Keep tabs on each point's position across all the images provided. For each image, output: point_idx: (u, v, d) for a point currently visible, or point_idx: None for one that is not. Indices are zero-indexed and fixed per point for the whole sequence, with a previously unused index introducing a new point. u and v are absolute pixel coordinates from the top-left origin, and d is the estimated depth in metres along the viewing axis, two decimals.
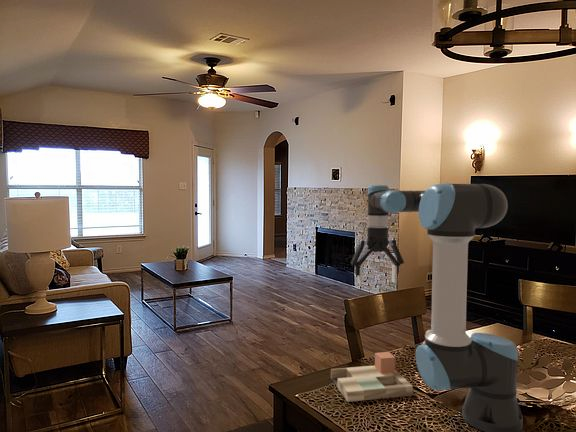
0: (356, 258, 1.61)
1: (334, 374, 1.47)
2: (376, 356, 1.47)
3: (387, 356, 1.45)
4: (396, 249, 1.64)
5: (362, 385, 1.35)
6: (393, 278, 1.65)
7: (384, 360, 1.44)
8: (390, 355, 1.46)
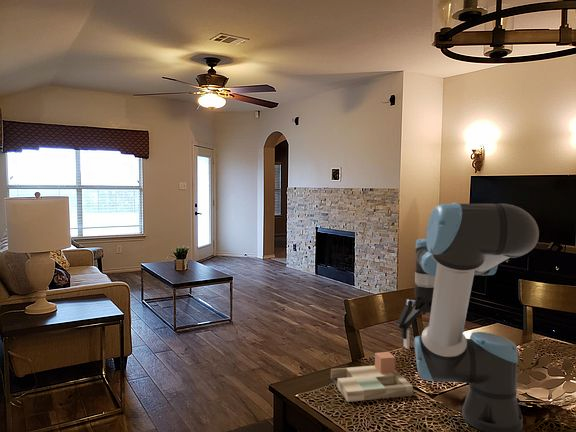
0: (403, 320, 1.46)
1: (334, 374, 1.47)
2: (376, 356, 1.47)
3: (387, 356, 1.45)
4: None
5: (362, 385, 1.35)
6: None
7: (384, 360, 1.44)
8: (390, 355, 1.46)
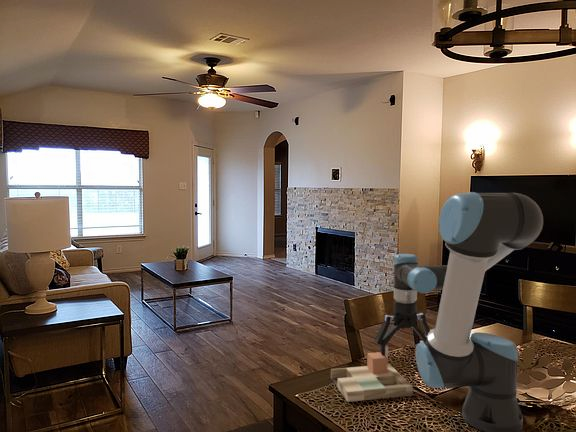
0: (381, 336, 1.45)
1: (334, 374, 1.47)
2: (368, 356, 1.47)
3: (379, 357, 1.45)
4: (425, 325, 1.48)
5: (362, 385, 1.35)
6: None
7: (376, 360, 1.44)
8: (382, 355, 1.46)
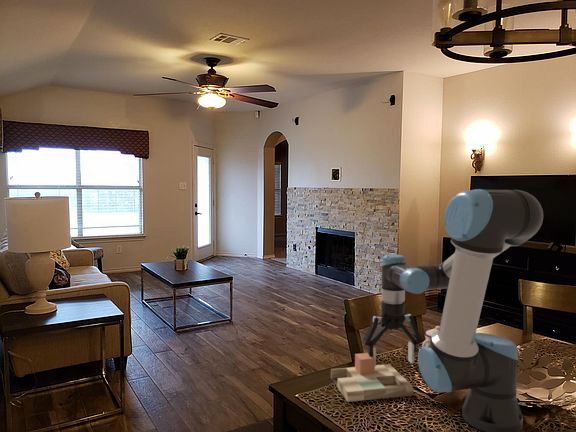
0: (369, 337, 1.44)
1: (334, 374, 1.47)
2: (356, 357, 1.46)
3: (367, 358, 1.44)
4: (413, 326, 1.47)
5: (362, 385, 1.35)
6: (410, 358, 1.48)
7: (364, 361, 1.43)
8: (370, 356, 1.45)
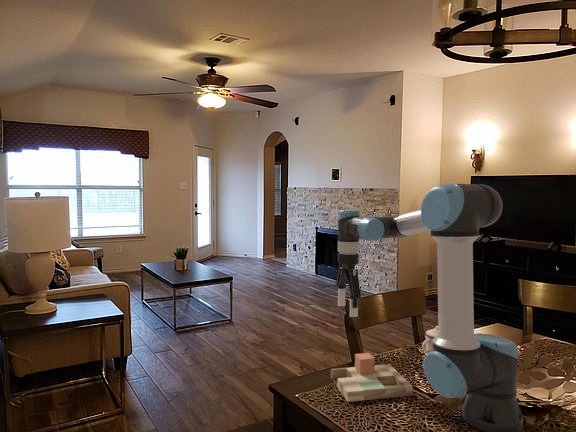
0: (337, 279, 1.66)
1: (334, 374, 1.47)
2: (356, 357, 1.46)
3: (367, 358, 1.44)
4: (351, 280, 1.51)
5: (362, 385, 1.35)
6: None
7: (364, 361, 1.43)
8: (370, 356, 1.45)
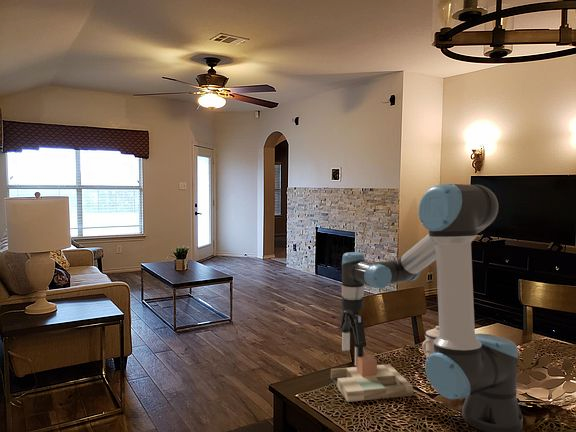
0: (341, 322, 1.61)
1: (334, 374, 1.47)
2: (358, 359, 1.45)
3: (369, 359, 1.43)
4: (356, 328, 1.46)
5: (362, 385, 1.35)
6: None
7: (366, 363, 1.41)
8: (372, 358, 1.44)
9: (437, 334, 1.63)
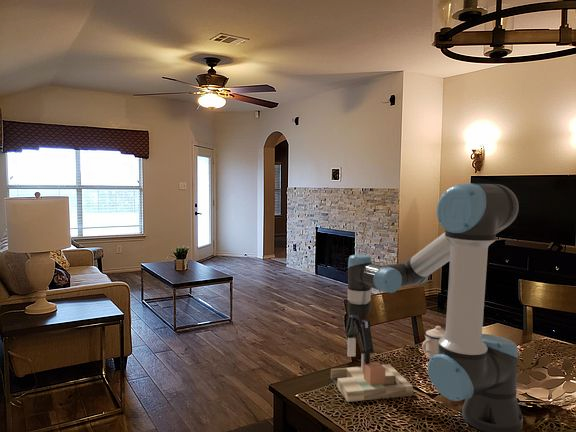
0: (346, 327, 1.55)
1: (334, 374, 1.47)
2: (365, 367, 1.39)
3: (377, 367, 1.36)
4: (363, 333, 1.39)
5: (362, 385, 1.35)
6: None
7: (374, 371, 1.35)
8: (380, 365, 1.38)
9: (437, 334, 1.63)
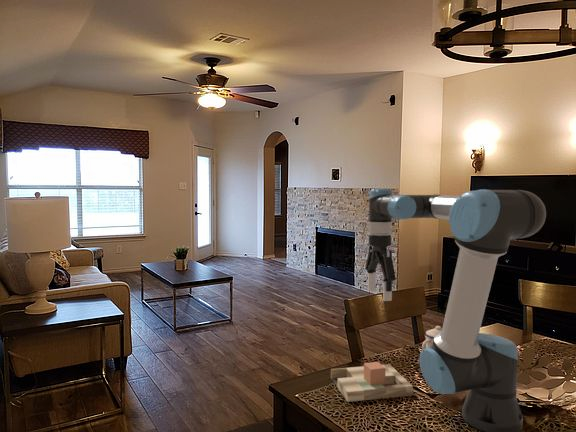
0: (366, 263, 1.58)
1: (334, 374, 1.47)
2: (365, 367, 1.39)
3: (377, 367, 1.36)
4: (384, 262, 1.43)
5: (362, 385, 1.35)
6: None
7: (374, 371, 1.35)
8: (380, 365, 1.38)
9: None
